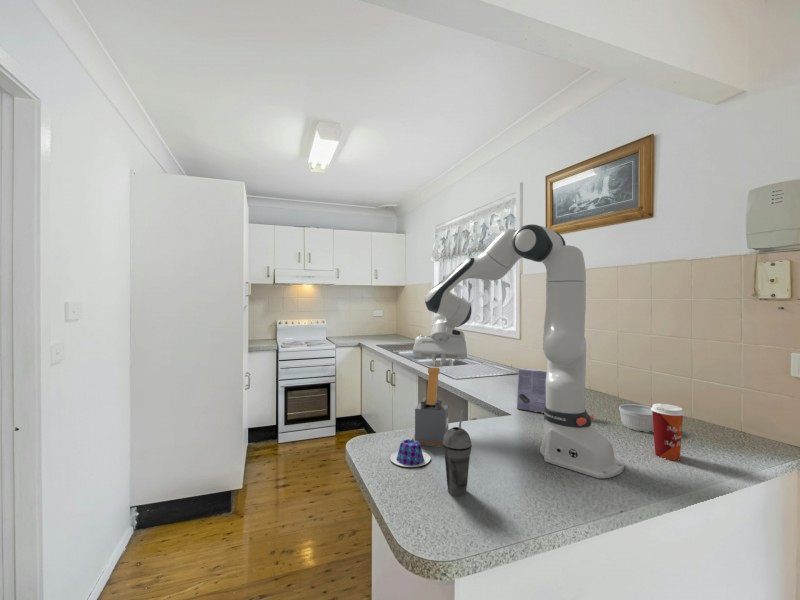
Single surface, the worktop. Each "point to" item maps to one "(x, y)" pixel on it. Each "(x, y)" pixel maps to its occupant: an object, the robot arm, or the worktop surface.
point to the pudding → (410, 454)
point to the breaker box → (431, 423)
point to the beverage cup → (457, 458)
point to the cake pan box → (531, 389)
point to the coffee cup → (667, 430)
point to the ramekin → (637, 417)
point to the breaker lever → (432, 387)
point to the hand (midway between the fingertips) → (437, 366)
